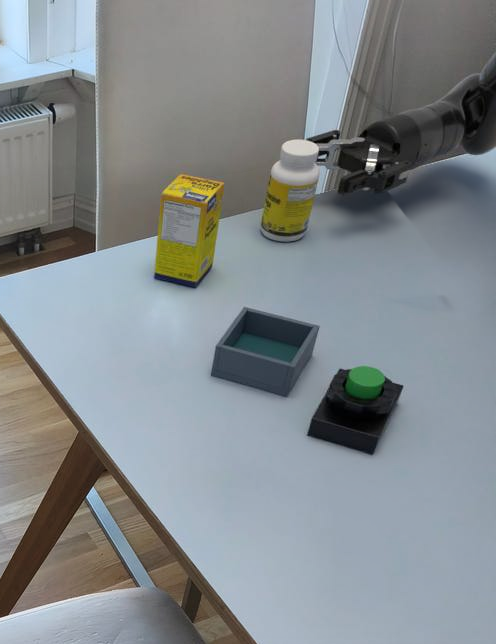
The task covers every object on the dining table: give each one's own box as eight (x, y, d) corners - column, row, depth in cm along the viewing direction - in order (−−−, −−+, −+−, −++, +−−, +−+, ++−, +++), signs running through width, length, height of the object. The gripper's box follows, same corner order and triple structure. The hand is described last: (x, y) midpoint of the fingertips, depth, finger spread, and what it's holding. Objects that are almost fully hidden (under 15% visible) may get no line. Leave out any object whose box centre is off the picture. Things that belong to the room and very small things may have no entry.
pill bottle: (254, 222, 123) (270, 138, 114) (298, 220, 123) (317, 135, 114) (265, 244, 119) (282, 158, 110) (311, 241, 119) (331, 155, 110)
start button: (384, 385, 92) (389, 371, 91) (374, 404, 90) (379, 390, 89) (350, 376, 94) (354, 362, 92) (340, 394, 92) (344, 380, 90)
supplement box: (212, 267, 115) (226, 181, 107) (195, 289, 112) (207, 202, 104) (170, 257, 117) (180, 172, 109) (152, 278, 114) (161, 192, 105)
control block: (397, 402, 96) (409, 370, 93) (373, 454, 91) (384, 423, 88) (334, 384, 99) (343, 353, 96) (306, 435, 93) (315, 403, 90)
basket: (312, 355, 102) (320, 325, 99) (287, 396, 98) (294, 367, 95) (238, 335, 105) (243, 306, 102) (210, 375, 100) (215, 345, 98)
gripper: (368, 98, 123) (284, 127, 118) (451, 131, 116) (365, 164, 110) (353, 155, 129) (273, 185, 124) (432, 190, 122) (349, 223, 116)
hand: (316, 175), depth 117 cm, fingers open, 8 cm apart
